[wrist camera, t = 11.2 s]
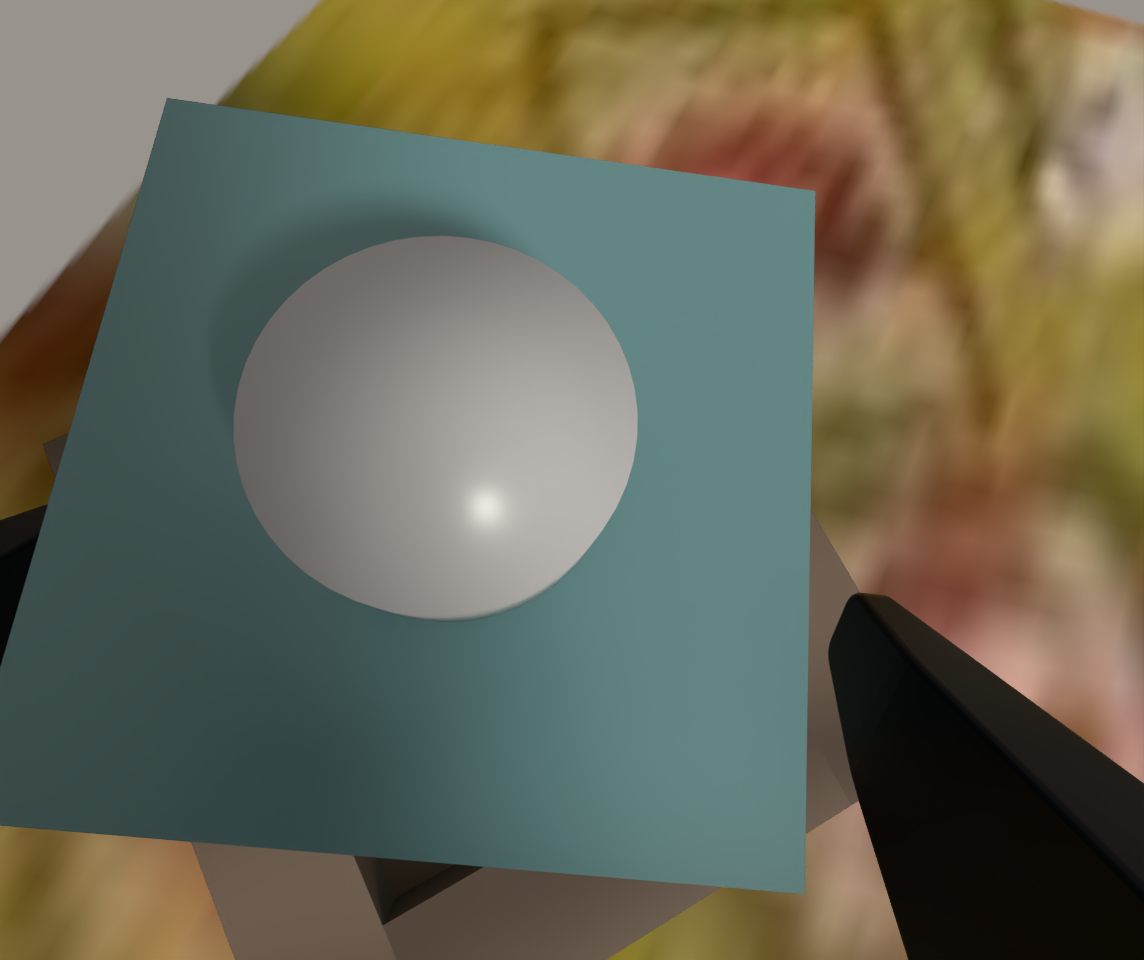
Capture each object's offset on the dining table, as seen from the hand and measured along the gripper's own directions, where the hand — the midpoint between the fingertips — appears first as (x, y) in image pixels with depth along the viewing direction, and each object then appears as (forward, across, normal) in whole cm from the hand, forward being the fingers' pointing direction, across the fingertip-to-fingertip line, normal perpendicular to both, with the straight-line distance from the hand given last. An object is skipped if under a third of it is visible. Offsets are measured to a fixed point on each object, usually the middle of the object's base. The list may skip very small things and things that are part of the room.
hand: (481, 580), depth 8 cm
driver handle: (+6, 0, +5) cm, 8 cm away
